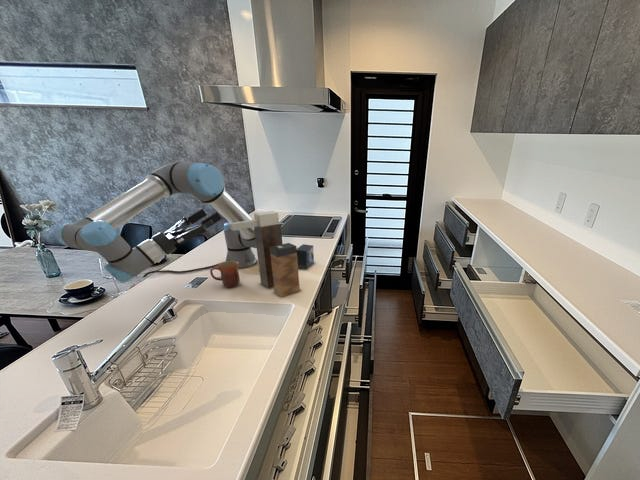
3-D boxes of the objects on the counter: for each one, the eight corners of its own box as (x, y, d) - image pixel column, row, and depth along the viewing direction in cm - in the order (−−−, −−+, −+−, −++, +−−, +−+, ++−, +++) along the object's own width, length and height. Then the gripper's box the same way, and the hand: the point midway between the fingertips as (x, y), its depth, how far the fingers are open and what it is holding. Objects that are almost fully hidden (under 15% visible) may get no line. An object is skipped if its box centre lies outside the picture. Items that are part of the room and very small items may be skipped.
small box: (307, 269, 158) (306, 250, 154) (295, 268, 159) (294, 249, 155) (314, 263, 168) (313, 244, 164) (303, 261, 169) (302, 243, 165)
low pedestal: (281, 297, 129) (277, 257, 122) (274, 292, 133) (270, 253, 126) (299, 290, 135) (296, 252, 128) (292, 286, 139) (289, 249, 132)
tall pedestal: (268, 288, 137) (261, 227, 126) (261, 283, 141) (253, 224, 130) (286, 283, 143) (280, 224, 131) (278, 278, 147) (272, 221, 136)
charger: (234, 231, 119) (232, 218, 117) (229, 228, 122) (227, 216, 120) (279, 224, 132) (278, 212, 130) (273, 222, 135) (272, 210, 133)
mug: (240, 280, 144) (237, 259, 140) (243, 287, 137) (239, 266, 133) (213, 284, 139) (208, 263, 135) (213, 291, 132) (209, 270, 128)
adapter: (277, 257, 122) (276, 249, 121) (270, 253, 126) (269, 246, 125) (296, 252, 128) (296, 245, 127) (289, 249, 132) (288, 242, 131)
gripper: (155, 249, 113) (204, 218, 123) (178, 262, 97) (232, 226, 107) (140, 233, 108) (192, 202, 119) (161, 244, 93) (219, 207, 103)
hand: (211, 213), depth 113 cm, fingers open, 13 cm apart
